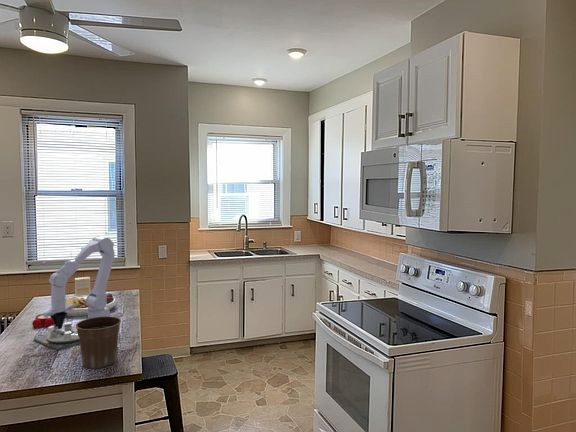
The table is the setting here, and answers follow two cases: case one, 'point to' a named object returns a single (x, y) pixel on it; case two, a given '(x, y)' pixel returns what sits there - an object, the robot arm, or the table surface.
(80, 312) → the bowl
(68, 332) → the metal disc with lugs
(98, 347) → the plant pot
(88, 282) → the supplement box
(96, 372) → the table surface
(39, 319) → the alarm clock
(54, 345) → the mount plate
